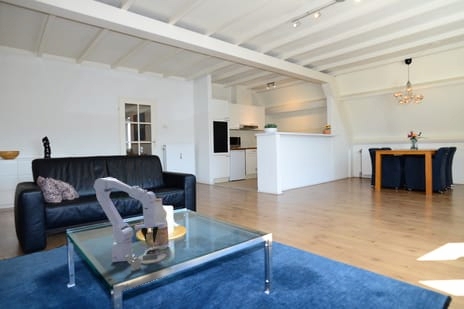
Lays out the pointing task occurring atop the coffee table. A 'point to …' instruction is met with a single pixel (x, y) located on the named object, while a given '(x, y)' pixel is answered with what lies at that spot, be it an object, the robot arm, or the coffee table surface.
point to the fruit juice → (162, 233)
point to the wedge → (150, 239)
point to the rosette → (152, 256)
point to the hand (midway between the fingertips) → (150, 242)
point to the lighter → (134, 262)
